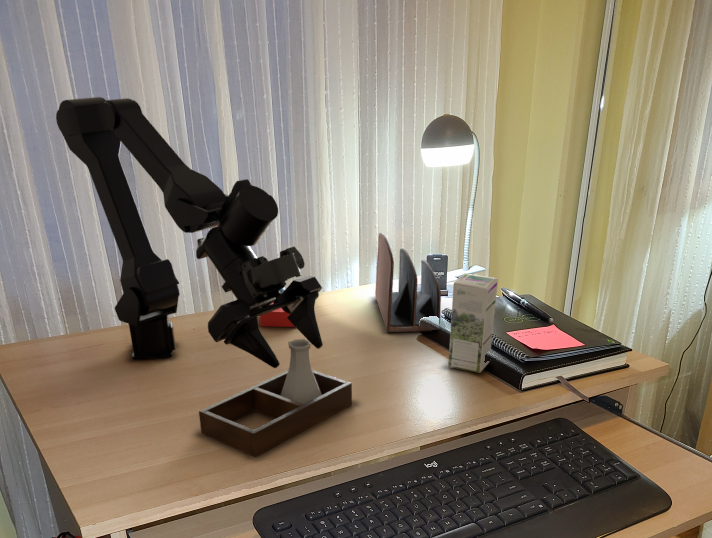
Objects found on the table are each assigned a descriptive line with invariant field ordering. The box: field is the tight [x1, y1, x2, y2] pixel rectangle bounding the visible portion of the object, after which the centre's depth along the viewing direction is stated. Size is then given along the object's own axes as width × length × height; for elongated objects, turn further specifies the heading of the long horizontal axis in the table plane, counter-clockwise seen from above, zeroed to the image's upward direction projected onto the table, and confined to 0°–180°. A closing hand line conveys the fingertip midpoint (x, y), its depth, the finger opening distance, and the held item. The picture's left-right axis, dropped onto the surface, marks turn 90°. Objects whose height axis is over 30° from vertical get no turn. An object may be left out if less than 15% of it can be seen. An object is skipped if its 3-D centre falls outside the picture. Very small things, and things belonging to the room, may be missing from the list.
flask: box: [280, 338, 322, 404], centre depth 112 cm, size 7×7×10 cm
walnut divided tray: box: [198, 369, 353, 458], centre depth 110 cm, size 11×20×4 cm, turn 143°
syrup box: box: [447, 273, 499, 374], centre depth 125 cm, size 6×6×14 cm
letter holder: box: [374, 232, 442, 334], centre depth 145 cm, size 10×20×14 cm, turn 6°
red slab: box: [259, 287, 296, 328], centre depth 144 cm, size 8×7×6 cm
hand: (299, 356), depth 110 cm, fingers open, 9 cm apart
